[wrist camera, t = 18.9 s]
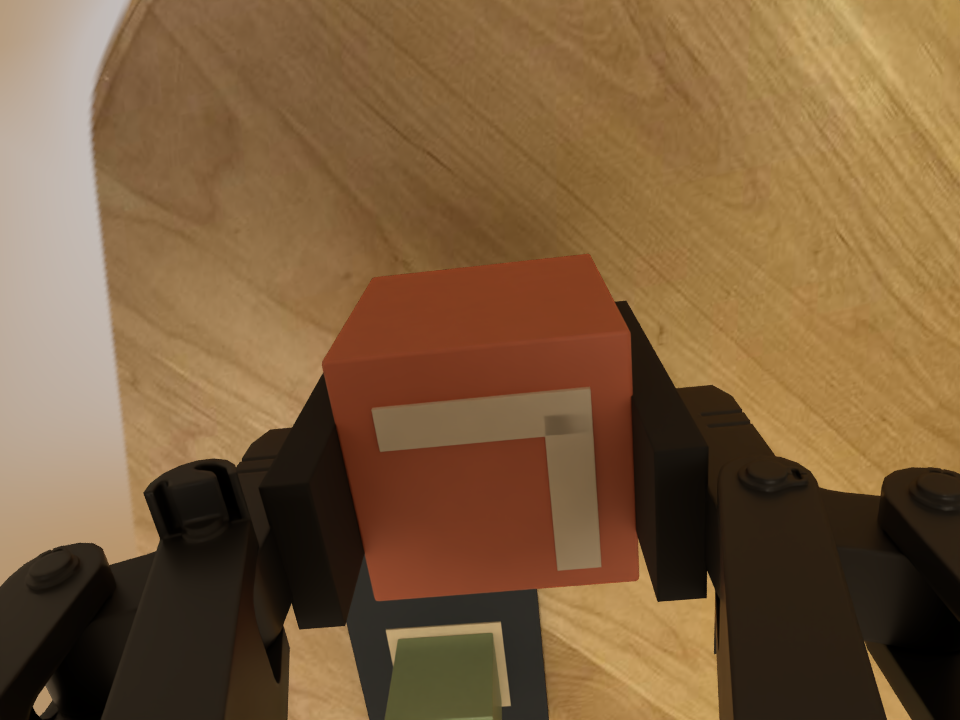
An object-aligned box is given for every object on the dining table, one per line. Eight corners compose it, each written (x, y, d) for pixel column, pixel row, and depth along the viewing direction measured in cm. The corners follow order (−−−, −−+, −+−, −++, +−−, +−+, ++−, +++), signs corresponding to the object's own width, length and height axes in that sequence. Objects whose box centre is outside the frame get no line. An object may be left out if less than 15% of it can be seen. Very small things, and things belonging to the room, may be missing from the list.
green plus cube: (397, 638, 36) (383, 725, 31) (492, 632, 35) (492, 718, 31) (411, 707, 38) (399, 798, 33) (501, 701, 37) (503, 792, 33)
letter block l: (371, 276, 16) (318, 364, 11) (590, 252, 15) (632, 332, 11) (406, 463, 18) (373, 606, 13) (601, 445, 17) (641, 586, 13)
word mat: (304, 422, 32) (299, 431, 31) (520, 404, 31) (520, 413, 30) (375, 725, 39) (373, 739, 39) (548, 715, 39) (549, 729, 38)
